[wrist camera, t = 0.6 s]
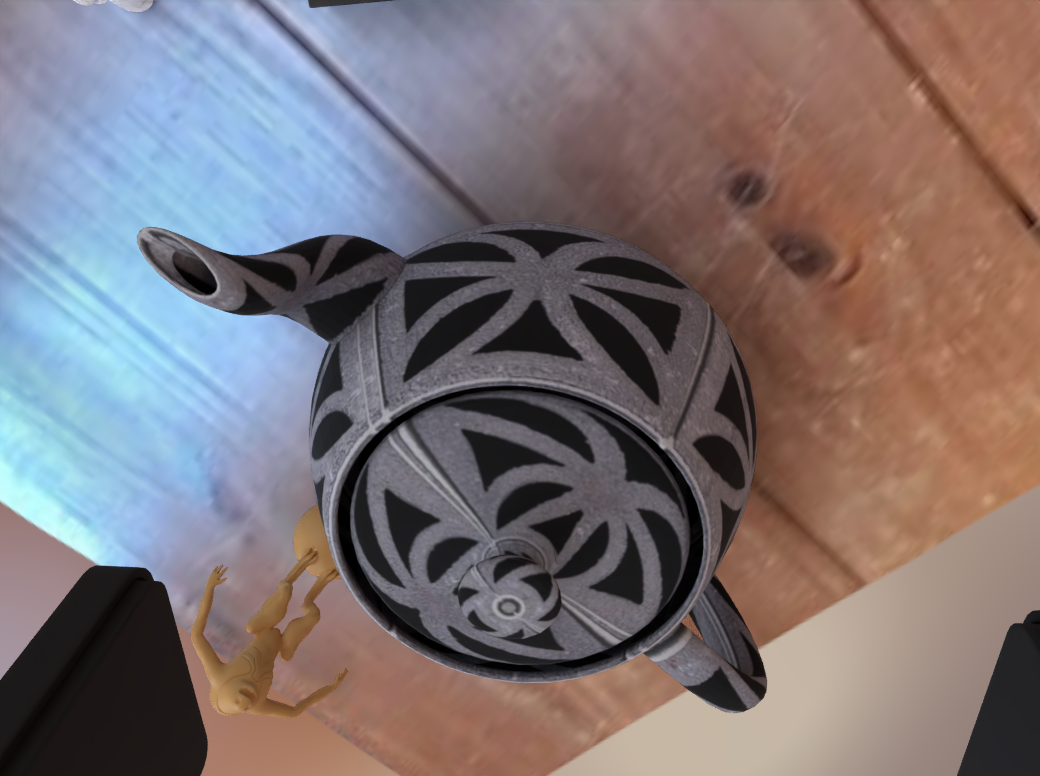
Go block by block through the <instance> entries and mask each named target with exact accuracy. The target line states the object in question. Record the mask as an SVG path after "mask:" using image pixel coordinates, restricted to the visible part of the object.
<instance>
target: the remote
mask: <svg viewBox="0 0 1040 776" xmlns="http://www.w3.org/2000/svg"><path fill="white" fill-rule="evenodd" d="M381 1H392V0H308V2H309V6H310V8H316V7H327V6H338V5H348V4H359V3H370V2H381Z"/></svg>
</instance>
